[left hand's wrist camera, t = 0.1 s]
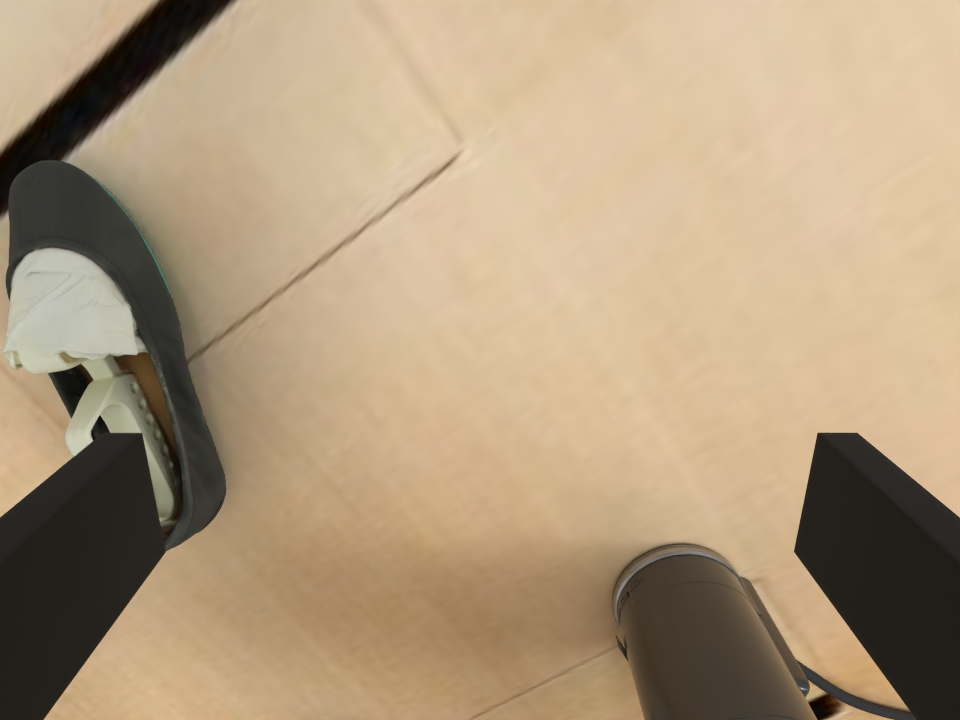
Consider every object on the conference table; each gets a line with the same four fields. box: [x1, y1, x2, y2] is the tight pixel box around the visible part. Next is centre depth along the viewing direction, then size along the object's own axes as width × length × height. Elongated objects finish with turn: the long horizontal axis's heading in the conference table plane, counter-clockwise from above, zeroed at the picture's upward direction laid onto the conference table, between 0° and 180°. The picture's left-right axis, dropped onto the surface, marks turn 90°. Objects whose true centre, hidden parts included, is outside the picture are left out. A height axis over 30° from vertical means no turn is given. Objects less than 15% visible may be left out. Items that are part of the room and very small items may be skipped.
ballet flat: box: [2, 160, 226, 551], centre depth 38 cm, size 8×24×8 cm, turn 15°
